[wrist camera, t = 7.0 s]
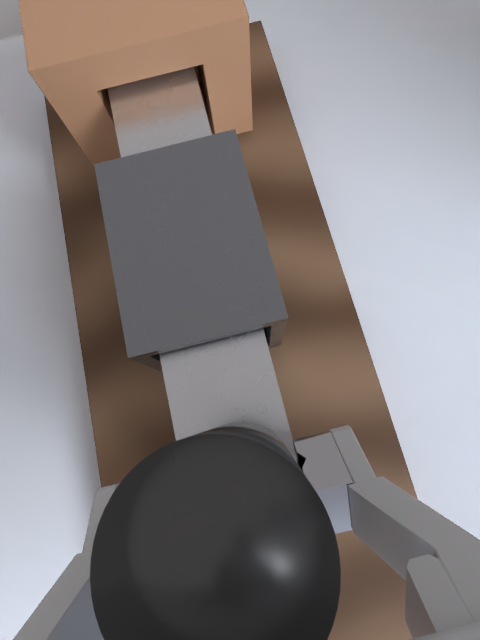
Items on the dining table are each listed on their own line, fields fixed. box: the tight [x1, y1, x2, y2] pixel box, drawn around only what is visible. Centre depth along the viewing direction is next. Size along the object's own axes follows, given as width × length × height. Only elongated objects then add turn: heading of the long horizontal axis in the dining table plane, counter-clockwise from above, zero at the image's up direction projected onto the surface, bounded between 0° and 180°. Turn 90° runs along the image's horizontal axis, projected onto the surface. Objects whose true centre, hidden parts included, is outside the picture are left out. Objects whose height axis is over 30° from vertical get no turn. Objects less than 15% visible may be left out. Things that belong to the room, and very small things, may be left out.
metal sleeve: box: [94, 129, 289, 372], centre depth 17 cm, size 8×6×6 cm
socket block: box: [19, 0, 253, 168], centre depth 19 cm, size 6×9×7 cm, turn 104°
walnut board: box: [44, 21, 417, 640], centre depth 20 cm, size 37×14×2 cm, turn 14°
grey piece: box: [90, 67, 341, 640], centre depth 13 cm, size 21×4×12 cm, turn 14°
